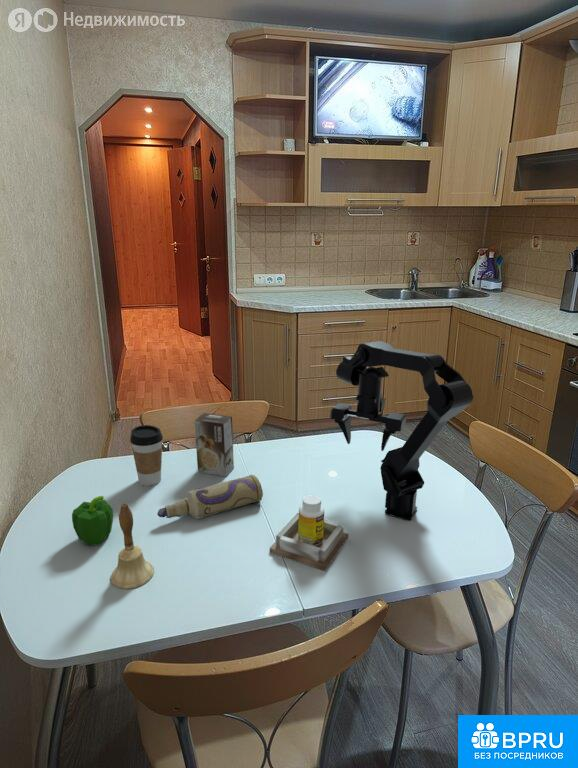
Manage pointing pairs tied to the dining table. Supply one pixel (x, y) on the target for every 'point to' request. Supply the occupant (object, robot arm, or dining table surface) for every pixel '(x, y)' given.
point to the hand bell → (130, 557)
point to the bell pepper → (93, 521)
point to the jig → (307, 553)
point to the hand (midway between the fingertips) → (365, 446)
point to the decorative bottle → (216, 498)
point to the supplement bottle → (311, 521)
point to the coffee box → (214, 444)
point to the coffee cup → (147, 453)
